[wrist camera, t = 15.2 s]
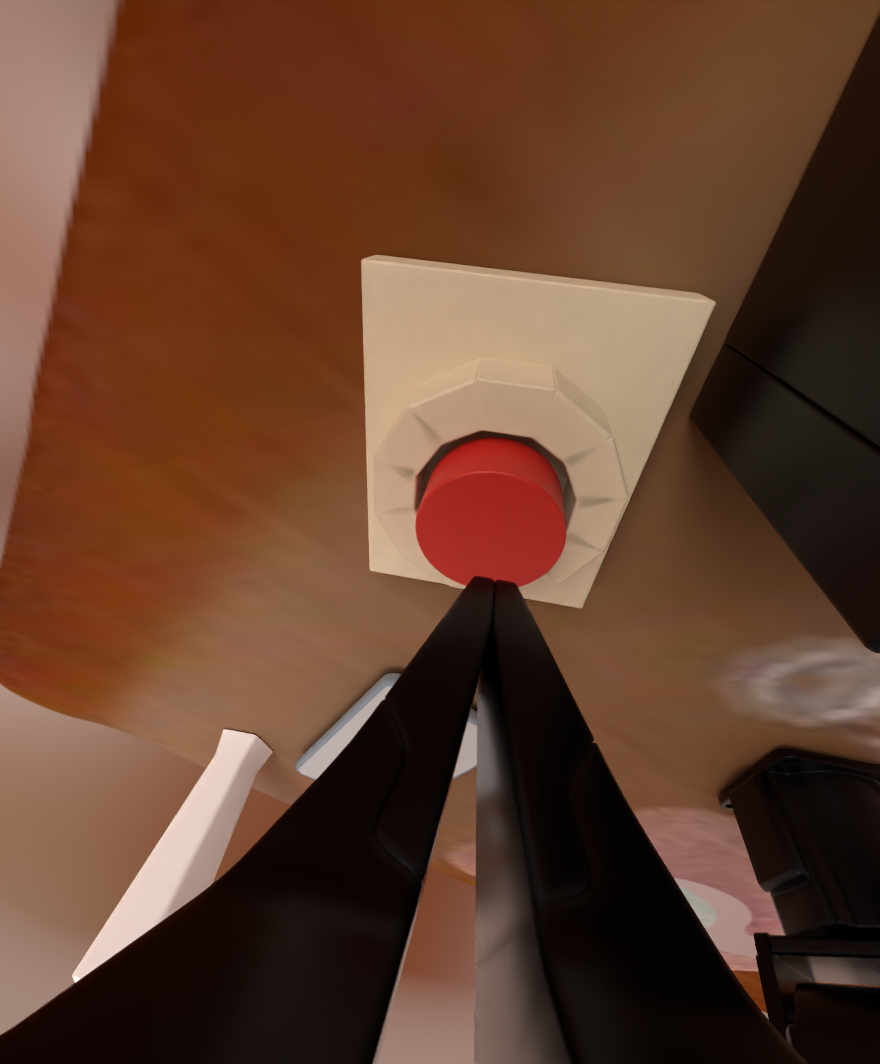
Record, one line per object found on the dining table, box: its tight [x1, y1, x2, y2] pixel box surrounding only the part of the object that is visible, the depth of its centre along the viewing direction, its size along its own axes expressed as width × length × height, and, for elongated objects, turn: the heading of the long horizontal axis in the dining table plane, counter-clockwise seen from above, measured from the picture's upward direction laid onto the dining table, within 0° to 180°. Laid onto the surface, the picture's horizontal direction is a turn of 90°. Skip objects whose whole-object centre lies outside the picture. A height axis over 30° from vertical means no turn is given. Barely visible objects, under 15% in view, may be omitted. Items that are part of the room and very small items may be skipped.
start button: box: [415, 438, 566, 587], centre depth 11 cm, size 4×4×2 cm
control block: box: [361, 255, 716, 608], centre depth 12 cm, size 10×8×3 cm
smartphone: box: [296, 673, 477, 780], centre depth 26 cm, size 8×1×15 cm
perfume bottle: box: [72, 729, 273, 982], centre depth 25 cm, size 5×4×15 cm
